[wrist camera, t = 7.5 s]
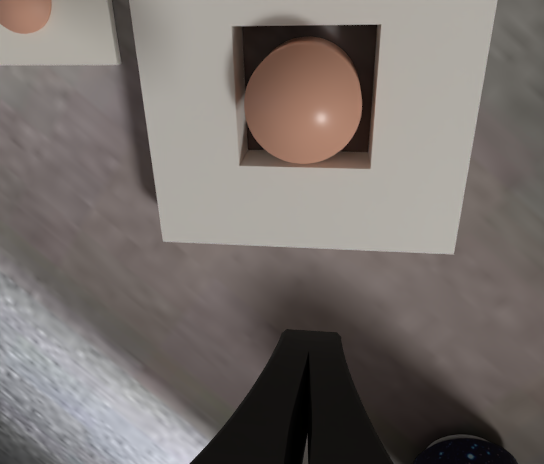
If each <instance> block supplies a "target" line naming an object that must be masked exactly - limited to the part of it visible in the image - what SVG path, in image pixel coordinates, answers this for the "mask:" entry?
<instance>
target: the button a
mask: <svg viewBox="0 0 544 464" xmlns="http://www.w3.org/2000/svg"><path fill="white" fill-rule="evenodd" d="M244 110H245V117H246V121H247V124H248V127H249V129H250V131H251V133H252V135H253V137H254V138H255V139H256V141H257V142H258V143H259V144H260V145H261V146H262V147H263V148H264V149H265V150H266V151H267V152H269V153H270V154H272V155H273V156H275V157H277V158H279V159H281V160H284V161H287V162H291V163H298V164H310V163H316V162H319V161H323V160H325V159H327V158H330V157H332V156H333V155H335V154H337V153H338V152H339V151H340V150H342V149H343V148H344V147H345V146H346V145H347V144H348V142H349V141H350V140H351V138H352V137H353V135H354V134H355V132H356V130H357V127H358V125H359V122H360V118H361V113H362V96H361V89H360V83H359V77H358V73H357V70H356V68H355V66H354V64H353V62H352V60H351V59H350V57H349V56H348V55H347V54H346V53H345V52H344V51H343V50H342V49H341V48H340V47H339V46H337V45H336V44H334V43H332V42H330V41H328V40H325V39H323V38H318V37H310V36H306V37H298V38H294V39H291V40H288V41H286V42H284V43H282V44H280V45H279V46H278V47H276V48H275V49H274V50H273V51H272V52H271V53H270V54H269V55H268V56H267V57H266V58H265V59H264V60H263V61H262V62H261V63H260V64H259V66H258V67H257V68H256V69H255V71H254V72H253V74H252V76H251V78H250V80H249V82H248V84H247V88H246V92H245V98H244Z"/></svg>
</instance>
